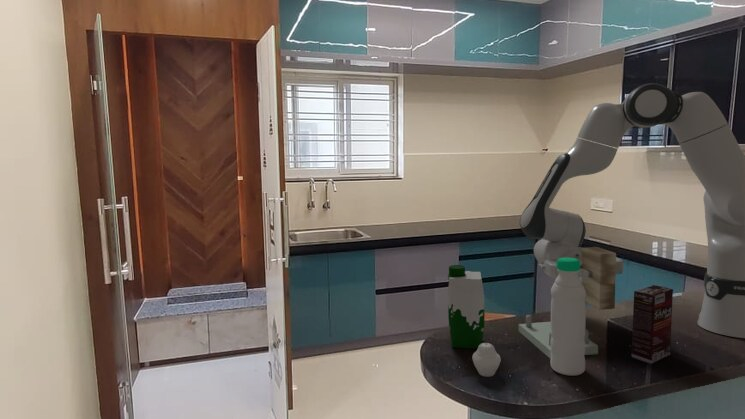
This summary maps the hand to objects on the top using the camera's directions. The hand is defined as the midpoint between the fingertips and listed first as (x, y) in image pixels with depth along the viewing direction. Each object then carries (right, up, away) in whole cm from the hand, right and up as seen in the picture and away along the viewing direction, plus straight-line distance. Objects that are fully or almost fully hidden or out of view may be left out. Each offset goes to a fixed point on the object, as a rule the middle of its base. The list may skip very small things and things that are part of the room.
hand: (600, 274), depth 114 cm
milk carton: (-33, -18, +3) cm, 38 cm away
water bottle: (-14, -19, -14) cm, 27 cm away
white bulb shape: (-32, -20, -14) cm, 40 cm away
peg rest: (-11, -17, +1) cm, 20 cm away
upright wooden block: (0, -8, +2) cm, 8 cm away
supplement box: (+8, -18, -9) cm, 21 cm away
